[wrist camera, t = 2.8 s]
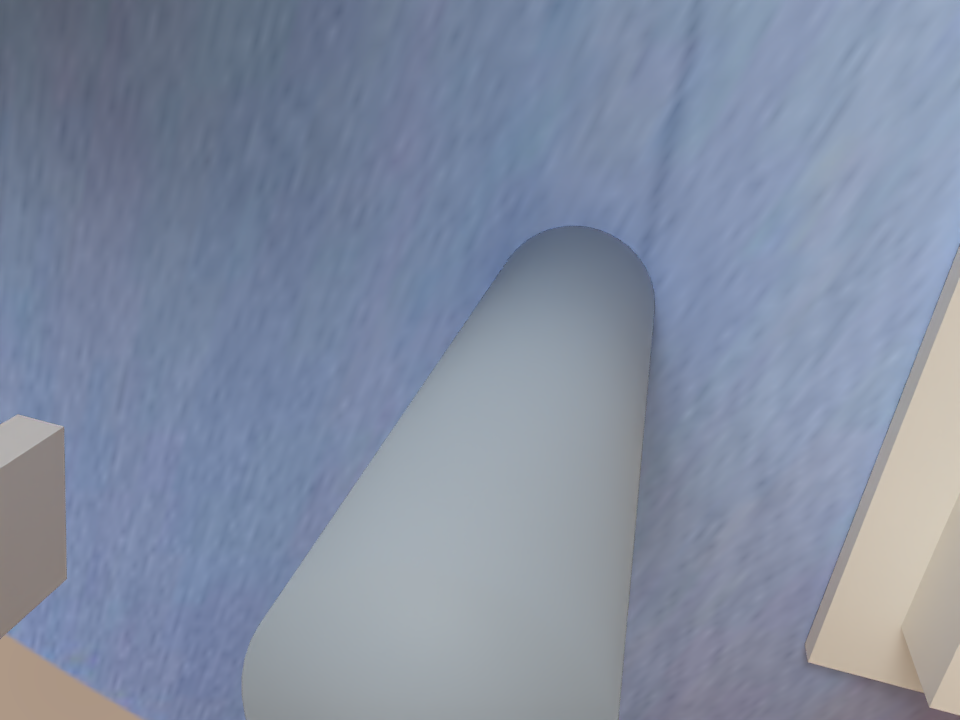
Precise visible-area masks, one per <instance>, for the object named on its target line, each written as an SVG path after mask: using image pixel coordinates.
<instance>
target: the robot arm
mask: <svg viewBox="0 0 960 720" xmlns="http://www.w3.org/2000/svg"><path fill="white" fill-rule="evenodd" d="M66 579H67V567H66V510H65V454H64V427H63V426H60V425H56V424H52V423H48V422H44V421H41V420H37V419H33V418H29V417H26V416H22V415H18V414H17V415H16V416H14V417H12V418H11V419H9V420H7V421H6V422H4V423H2V424H0V639H1V638H2V637H3V636H4V635H5V634H6V633H8V632H9V631H10V630H11V629H12V628H13V627H14V626H15V625H16V624H17V623H19V622H20V621H21V620H22V619H23V618H24V617H25V616H26V615H27V614H29V613H30V612H31V611H32V610H33V609H34V608H35V607H36V606H37V605H39V604H40V603H41V602H42V601H43V600H44V599H45V598H46V597H47V596H49V595H50V594H51V593H52V592H53V591H54V590H55V589H56V588H57V587H58V586H60V585H61V584H62V583H63V582H64V581H65V580H66Z"/></svg>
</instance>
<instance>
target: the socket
mask: <svg viewBox="0 0 960 720" xmlns="http://www.w3.org/2000/svg"><path fill="white" fill-rule="evenodd" d="M805 649H806V654H807V659H808V662H809V663H813V664H816V665H820V666H824V667H828V668H832V669H835V670H839V671H843V672H847V673H850V674H854V675H858V676H862V677H865V678H869V679H873V680H877V681H880V682H884V683H888V684H892V685H895V686H899V687H903V688H907V689H910V690H914V691H918V692H922V693H924V694H925V697H926V700H927V702H928V705H929V707H930V708H934V709H937V710H941V711H945V712H949V713H952V714H956V715H960V246H959V248H958V251H957V254H956V256H955V259H954V261H953V264H952V266H951V269H950V272H949V274H948V277H947V279H946V282H945V284H944V287H943V290H942V292H941V295H940V297H939V300H938V303H937V305H936V308H935V310H934V313H933V315H932V318H931V321H930V323H929V326H928V328H927V331H926V333H925V336H924V339H923V341H922V344H921V346H920V349H919V351H918V354H917V357H916V359H915V362H914V364H913V367H912V370H911V372H910V375H909V377H908V380H907V382H906V385H905V388H904V390H903V393H902V395H901V398H900V400H899V403H898V406H897V408H896V411H895V413H894V416H893V418H892V421H891V424H890V426H889V429H888V431H887V434H886V437H885V439H884V442H883V444H882V447H881V449H880V452H879V455H878V457H877V460H876V462H875V465H874V467H873V470H872V473H871V475H870V478H869V480H868V483H867V485H866V488H865V491H864V493H863V496H862V498H861V501H860V503H859V506H858V509H857V511H856V514H855V516H854V519H853V522H852V524H851V527H850V529H849V532H848V534H847V537H846V540H845V542H844V545H843V547H842V550H841V552H840V555H839V558H838V560H837V563H836V565H835V568H834V570H833V573H832V576H831V578H830V581H829V583H828V586H827V589H826V591H825V594H824V596H823V599H822V601H821V604H820V607H819V609H818V612H817V614H816V617H815V619H814V622H813V625H812V627H811V630H810V632H809V635H808V637H807V640H806V643H805Z"/></svg>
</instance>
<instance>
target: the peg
mask: <svg viewBox="0 0 960 720" xmlns="http://www.w3.org/2000/svg"><path fill="white" fill-rule="evenodd" d="M654 312H655V298H654V290H653V286H652V282H651V279H650V277H649V274H648V272H647V270H646V268H645V266H644V265H643V263H642V262H641V260H640V259H639V258H638V256H637V255H636V254H635V253H634V252H633V251H632V250H631V249H630V248H629V247H628V246H627V245H626V244H624V243H623V242H622V241H620V240H619V239H617V238H615V237H614V236H612V235H610V234H608V233H605V232H603V231H601V230H597V229H593V228H589V227H582V226H565V227H557V228H553V229H549V230H546V231H544V232H541V233H539V234H537V235H535V236H533V237H532V238H530V239H528V240H527V241H526V242H524V243H523V244H522V245H521V246H520V247H519V248H518V249H517V250H516V251H515V252H514V253H513V254H512V255H511V257H510V258H509V259H508V261H507V262H506V264H505V265H504V266H503V268H502V269H501V271H500V272H499V274H498V275H497V277H496V278H495V280H494V281H493V283H492V284H491V286H490V287H489V288H488V290H487V291H486V293H485V294H484V296H483V297H482V299H481V300H480V302H479V303H478V305H477V306H476V308H475V309H474V310H473V312H472V313H471V315H470V316H469V318H468V319H467V321H466V322H465V324H464V325H463V327H462V328H461V330H460V331H459V332H458V334H457V335H456V337H455V338H454V340H453V341H452V343H451V344H450V346H449V347H448V349H447V350H446V352H445V353H444V354H443V356H442V357H441V359H440V360H439V362H438V363H437V365H436V366H435V368H434V369H433V371H432V372H431V374H430V375H429V376H428V378H427V379H426V381H425V382H424V384H423V385H422V387H421V388H420V390H419V391H418V393H417V394H416V396H415V397H414V398H413V400H412V401H411V403H410V404H409V406H408V407H407V409H406V410H405V412H404V413H403V415H402V416H401V418H400V419H399V420H398V422H397V423H396V425H395V426H394V428H393V429H392V431H391V432H390V434H389V435H388V437H387V438H386V440H385V441H384V442H383V444H382V445H381V447H380V448H379V450H378V451H377V453H376V454H375V456H374V457H373V459H372V460H371V462H370V463H369V464H368V466H367V467H366V469H365V470H364V472H363V473H362V475H361V476H360V478H359V479H358V481H357V482H356V484H355V485H354V486H353V488H352V489H351V491H350V492H349V494H348V495H347V497H346V498H345V500H344V501H343V503H342V504H341V506H340V507H339V508H338V510H337V511H336V513H335V514H334V516H333V517H332V519H331V520H330V522H329V523H328V525H327V526H326V528H325V529H324V530H323V532H322V533H321V535H320V536H319V538H318V539H317V541H316V542H315V544H314V545H313V547H312V548H311V550H310V551H309V552H308V554H307V555H306V557H305V558H304V560H303V561H302V563H301V564H300V566H299V567H298V569H297V570H296V572H295V573H294V574H293V576H292V577H291V579H290V580H289V582H288V583H287V585H286V586H285V588H284V589H283V591H282V592H281V594H280V595H279V596H278V598H277V599H276V601H275V602H274V604H273V605H272V607H271V608H270V610H269V611H268V613H267V614H266V616H265V617H264V618H263V620H262V621H261V623H260V624H259V626H258V628H257V630H256V632H255V634H254V635H253V637H252V639H251V641H250V644H249V647H248V650H247V653H246V656H245V659H244V666H243V672H242V700H243V706H244V712H245V717H246V720H618V718H619V706H620V695H621V684H622V673H623V661H624V650H625V639H626V627H627V616H628V605H629V594H630V582H631V571H632V560H633V549H634V537H635V526H636V515H637V503H638V492H639V481H640V470H641V458H642V447H643V436H644V424H645V413H646V402H647V391H648V379H649V368H650V357H651V346H652V334H653V323H654Z"/></svg>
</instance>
